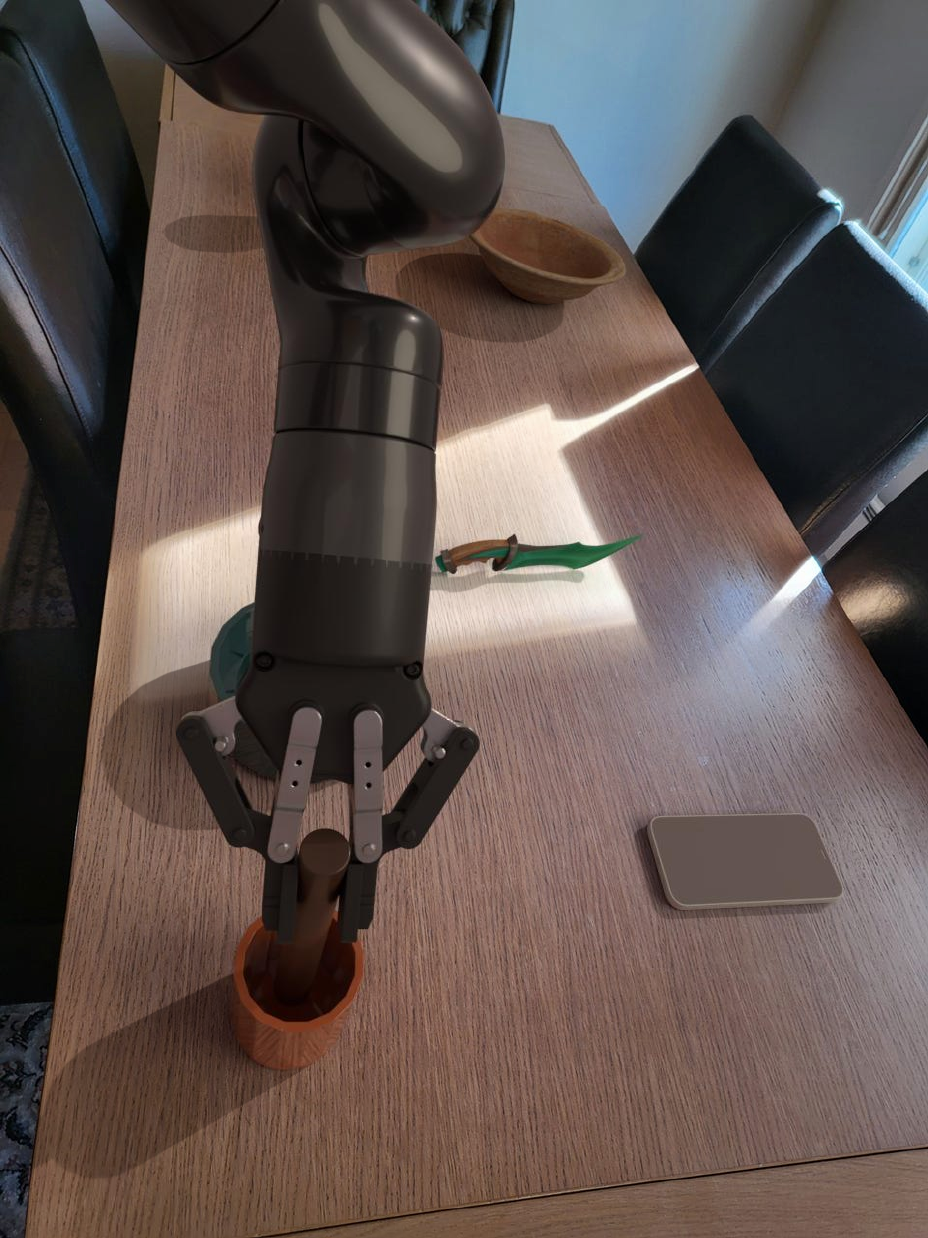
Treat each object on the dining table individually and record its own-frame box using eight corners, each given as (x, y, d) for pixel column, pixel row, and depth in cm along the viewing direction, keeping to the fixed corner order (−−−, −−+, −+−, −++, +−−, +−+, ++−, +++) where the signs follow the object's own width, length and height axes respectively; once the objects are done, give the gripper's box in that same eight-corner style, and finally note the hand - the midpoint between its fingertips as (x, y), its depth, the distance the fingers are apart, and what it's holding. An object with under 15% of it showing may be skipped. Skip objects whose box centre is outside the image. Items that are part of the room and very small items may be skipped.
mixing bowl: (240, 811, 59) (242, 767, 55) (189, 659, 66) (188, 610, 62) (419, 757, 65) (434, 714, 61) (354, 624, 73) (363, 577, 68)
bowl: (637, 312, 126) (658, 261, 120) (541, 350, 112) (559, 295, 106) (524, 239, 134) (538, 188, 128) (420, 266, 120) (431, 211, 114)
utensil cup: (250, 1091, 48) (256, 1055, 42) (217, 975, 52) (218, 926, 46) (362, 1040, 51) (382, 1000, 45) (324, 934, 55) (337, 884, 49)
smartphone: (646, 815, 65) (810, 812, 69) (642, 821, 66) (805, 817, 70) (674, 907, 61) (848, 898, 64) (669, 912, 61) (842, 903, 65)
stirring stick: (280, 1013, 47) (309, 882, 34) (268, 976, 49) (292, 836, 36) (316, 998, 48) (358, 865, 35) (304, 962, 50) (340, 820, 37)
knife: (434, 581, 78) (445, 543, 75) (429, 567, 80) (440, 529, 76) (630, 573, 86) (649, 539, 82) (624, 561, 87) (642, 526, 83)
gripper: (170, 532, 31) (139, 984, 32) (524, 565, 34) (486, 972, 35) (187, 536, 38) (162, 903, 39) (478, 563, 41) (448, 900, 42)
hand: (316, 934), depth 37 cm, fingers closed on stirring stick, 2 cm apart
